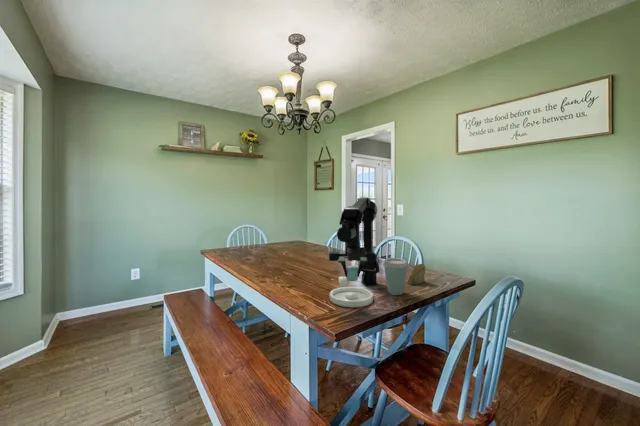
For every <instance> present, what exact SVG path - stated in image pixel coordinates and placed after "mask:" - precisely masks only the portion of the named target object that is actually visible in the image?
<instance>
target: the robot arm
mask: <svg viewBox="0 0 640 426" xmlns="http://www.w3.org/2000/svg"><path fill="white" fill-rule="evenodd" d="M377 214H378V206H377V203H375V202H373V201H372V199H371V198H370V197H368V196H367V197H359V198H358V199H357V200H356V202H354V203H353V204H352V205H351V206H345V207H344V209H343V210H342V211H341V216H340V220H339V225H340V227H339V229H338V230H337V233H336V237H337V239H338V240H339V241H340V242H341V243H344V253H340V252H339V251H337V250H336V251H333V250H332V251H331V250H330V251H329V252H328V261H331V262H334V261H335V262H337V263H338V264H340V265H341V266H342V269H343V272H344V277H347V263H346V259H347V260H348V261H349V262H352V261H356V262H357V267H358V278H360V276H361V281H360V282H361V283H362V284H363V285H364V286H367V287H368V286H376V285H379V283H378V282H377V281H378V280H377V278H378V277H377V276H378V275H377V274H378V273H380V265H379V261H378V260H377V259H378V257H377V256H378V255H377V254H376V253H375V252H374V229H373V228H374V227H373V226H374V221H375V220H376V218H377ZM362 223H363V226H362V227H363V231H362V232H363V233H362V234H363V247H360V225H361V224H362ZM361 273H362V274H361ZM360 274H361V275H360Z"/></svg>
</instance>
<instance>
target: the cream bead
mask: <svg viewBox="0 0 640 426" xmlns="http://www.w3.org/2000/svg"><path fill="white" fill-rule="evenodd" d="M341 287H349V281H348V280H347V277H346V276H339V277H338V288H341Z"/></svg>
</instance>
